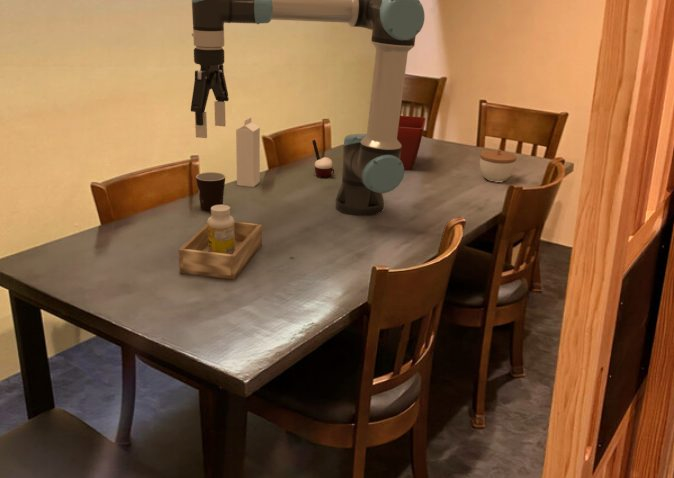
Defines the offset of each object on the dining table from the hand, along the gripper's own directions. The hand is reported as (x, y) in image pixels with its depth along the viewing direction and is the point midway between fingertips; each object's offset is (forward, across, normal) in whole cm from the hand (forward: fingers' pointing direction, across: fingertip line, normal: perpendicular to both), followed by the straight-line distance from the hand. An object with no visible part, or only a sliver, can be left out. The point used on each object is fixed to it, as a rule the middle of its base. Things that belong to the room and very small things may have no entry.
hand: (211, 131), depth 183 cm
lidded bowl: (+29, -79, +77) cm, 114 cm away
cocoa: (+29, -63, +17) cm, 71 cm away
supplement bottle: (+28, +16, +8) cm, 33 cm away
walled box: (+29, +15, +8) cm, 33 cm away
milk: (+29, -46, -5) cm, 55 cm away
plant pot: (+29, -86, +40) cm, 99 cm away
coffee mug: (+29, -21, -8) cm, 37 cm away
